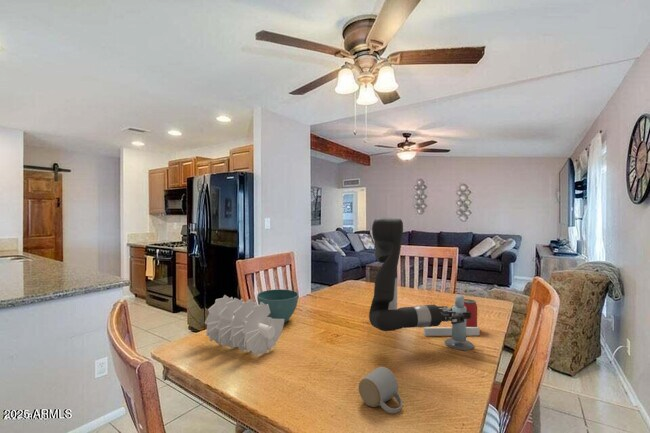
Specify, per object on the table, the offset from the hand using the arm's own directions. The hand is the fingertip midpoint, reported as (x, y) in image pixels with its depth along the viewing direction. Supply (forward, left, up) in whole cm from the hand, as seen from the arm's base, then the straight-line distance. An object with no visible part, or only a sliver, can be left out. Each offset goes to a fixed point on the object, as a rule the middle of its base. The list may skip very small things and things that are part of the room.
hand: (465, 312), depth 120 cm
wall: (-1, +9, -12) cm, 15 cm away
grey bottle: (-3, -1, -10) cm, 10 cm away
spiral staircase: (-82, -1, -12) cm, 82 cm away
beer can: (+8, +15, -12) cm, 20 cm away
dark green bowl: (-72, +27, -12) cm, 78 cm away
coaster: (-2, 0, -12) cm, 12 cm away
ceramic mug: (-38, -36, -12) cm, 54 cm away
